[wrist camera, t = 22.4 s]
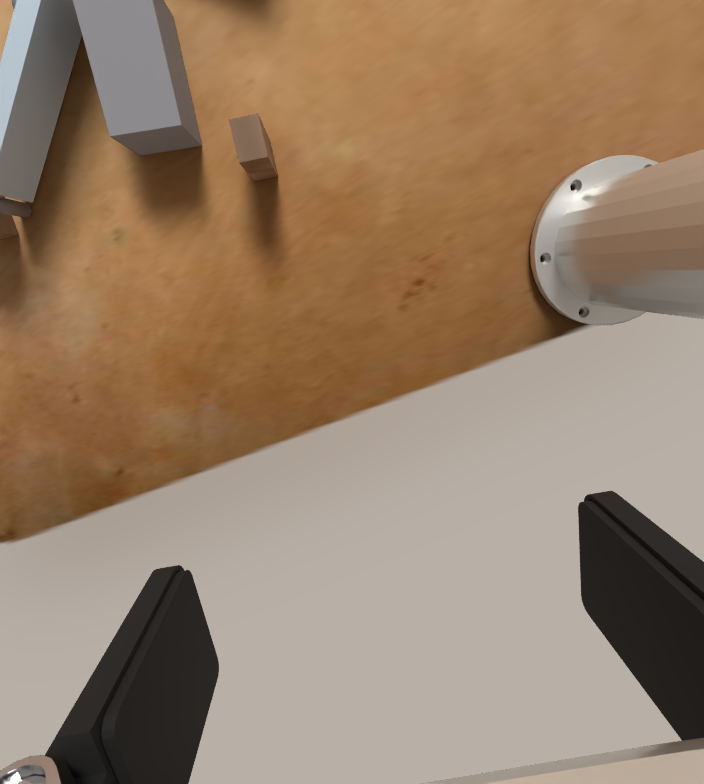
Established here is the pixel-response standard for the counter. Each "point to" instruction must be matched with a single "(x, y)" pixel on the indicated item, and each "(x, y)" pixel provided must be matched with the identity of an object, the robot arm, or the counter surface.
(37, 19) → the door
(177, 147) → the block
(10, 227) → the brown wooden block
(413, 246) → the counter surface
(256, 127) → the block
